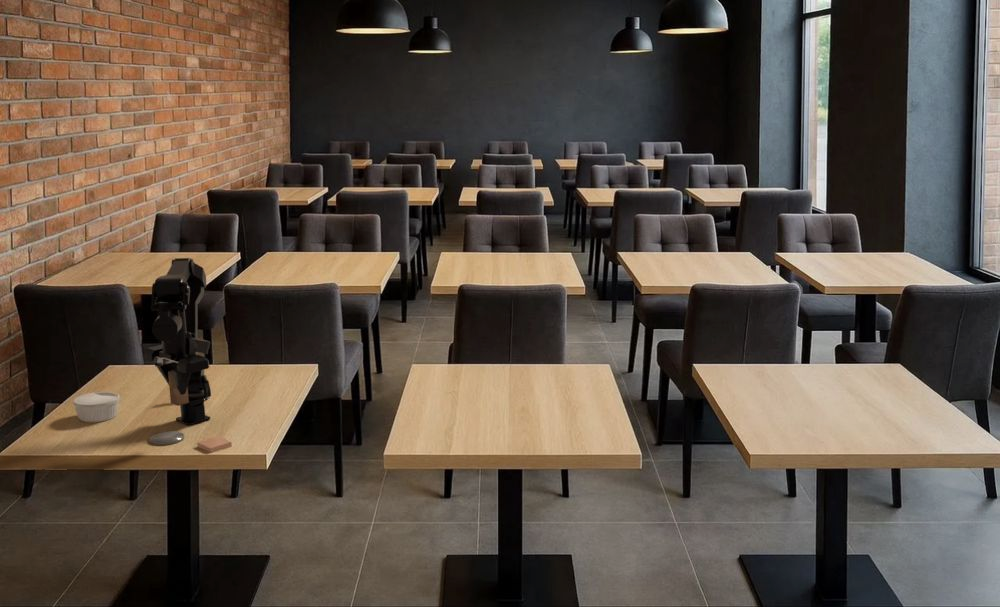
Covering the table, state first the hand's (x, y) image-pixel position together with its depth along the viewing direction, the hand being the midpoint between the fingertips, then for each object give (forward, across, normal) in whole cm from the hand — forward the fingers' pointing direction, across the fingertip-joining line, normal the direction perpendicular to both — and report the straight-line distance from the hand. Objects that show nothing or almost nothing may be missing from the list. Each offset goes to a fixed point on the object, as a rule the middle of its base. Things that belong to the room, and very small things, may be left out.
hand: (179, 392), depth 249 cm
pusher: (+2, 0, 0) cm, 3 cm away
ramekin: (+13, +33, +4) cm, 36 cm away
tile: (+12, -6, -3) cm, 14 cm away
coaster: (+12, +4, +2) cm, 13 cm away
